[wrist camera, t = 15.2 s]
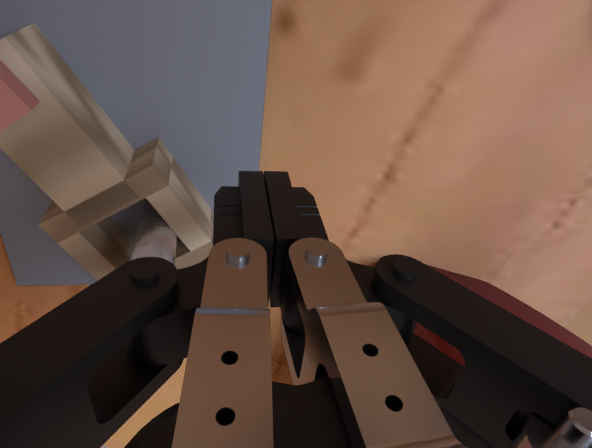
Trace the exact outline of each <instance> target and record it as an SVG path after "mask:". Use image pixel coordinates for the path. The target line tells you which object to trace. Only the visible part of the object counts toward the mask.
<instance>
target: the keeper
mask: <svg viewBox="0 0 592 448" xmlns="http://www.w3.org/2000/svg"><path fill="white" fill-rule="evenodd" d="M39 103H40V101H39V99H38V98H37V97H36V96H35V95H34V94H33V93H32V92H31V91H30V90H29V89H28V88H27V87H26V86H25V85H24V84H23V83H22V82H21V81H20V80H19V79H18V77H17V76H16V75H15V74H14V73H13V72H12V71H11V70H10V69H9V68H8V67H7V66H6V65H5V64H4V63H3V62H2V61H1V60H0V131H1V130H2V129H4V128H6V127H7V126H9V125H10V124H12V123H13V122H15V121H16V120H18V119H19V118H21V117H22V116H24V115H25V114H27V113H28V112H30V111H31V110H32V109H33V108H34V107H36V106H37V105H38V104H39Z"/></svg>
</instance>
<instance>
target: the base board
mask: <svg viewBox="0 0 592 448" xmlns="http://www.w3.org/2000/svg"><path fill="white" fill-rule="evenodd" d="M271 6H272V0H0V40H1V39H2V38H4V37H6V36H8V35H10V34H12V33H14V32H16V31H18V30H20V29H22V28H24V27H26V26H28V25H31V24H33V23H35V24H36V25H37V26H38V28H39V29H40V30H41V31H42V33H43V34H44V35H45V37H46V38H47V39H48V40H49V42H50V43H51V44H52V45H53V47H54V48H55V49H56V51H57V52H58V53H59V54H60V56H61V57H62V58H63V60H64V61H65V62H66V63H67V65H68V66H69V67H70V68H71V70H72V71H73V72H74V74H75V75H76V76H77V77H78V79H79V80H80V81H81V82H82V84H83V85H84V86H85V88H86V89H87V90H88V91H89V93H90V94H91V95H92V97H93V98H94V99H95V100H96V102H97V103H98V104H99V105H100V107H101V108H102V109H103V111H104V112H105V113H106V114H107V116H108V117H109V118H110V119H111V121H112V122H113V123H114V125H115V126H116V127H117V128H118V130H119V131H120V132H121V134H122V135H123V136H124V137H125V139H126V140H127V141H128V142H129V144H130V145H131V146H132V148H133V149H134V150H136V149H138V148H139V147H141V146H143V145H145V144H147V143H149V142H151V141H153V140H154V139H156V138H158V137H159V138H160V139H161V141H162V142H163V143H164V145H165V146H166V147H167V149H168V150H169V152H170V153H171V154H172V156H173V157H174V158H175V160H176V161H177V163H178V164H179V165H180V167H181V168H182V169H183V171H184V172H185V174H186V175H187V176H188V178H189V179H190V180H191V182H192V183H193V185H194V186H195V187H196V189H197V190H198V191H199V193H200V194H201V196H202V197H203V198H204V200H205V201H206V202H207V204H208V205H209V207H210V208H211V209H212V211H213V212H214V195H215V193H216V192H217V191H218V190H219V189H220V187H221V186H238V174H239V171H259V162H260V149H261V136H262V123H263V110H264V97H265V84H266V71H267V58H268V45H269V32H270V19H271ZM145 199H146V198H144V199H142V200H140V201H138V202H136V203H134V204H132V205H131V206H129V207H127V208H125V209H123V210H121V211H119V212H117V213H115V214H113V215H111V217H112V218H113V219H114V220H115V221H116V223H117V224H118V225H119V226H120V227H121V228H122V229H123V230H124V231H125V232H126V233H127V234H128V236H129V237H130V238H131V239H132V240H133V241H134V242H135V239H136V235H137V231H138V226H139V222H140V218H141V214H142V209H143V205H144V201H145ZM51 202H52V199H51V198H50V197H49V196H48V195H47V194H46V193H45V192H44V191H43V190H42V189H41V188H40V187H39V186H38V185H37V184H36V183H35V182H34V181H33V180H32V179H31V178H30V177H29V176H28V175H27V174H26V173H25V172H24V171H23V170H22V169H21V168H20V167H19V166H18V165H17V164H16V163H15V162H14V161H13V160H12V159H11V158H10V157H9V156H8V155H7V154H6V153H5V152H4V151H3V150H2V149H1V148H0V234H1V237H2V240H3V243H4V246H5V249H6V252H7V255H8V258H9V261H10V265H11V268H12V271H13V274H14V277H15V280H16V283H17V286H41V285H79V284H93V283H95V282H96V281H98V280H96V279H95V278H94V277H93V276H92V275H91V274H90V273H89V272H88V271H87V270H86V269H85V268H83V267H82V266H81V265H80V264H79V263H78V262H77V261H76V260H75V259H74V258H73V257H72V256H70V255H69V254H68V253H67V252H66V251H65V250H64V249H63V248H62V247H61V246H60V245H58V244H57V243H56V242H55V241H54V240H53V239H52V238H51V237H50V236H49V235H48V234H47V233H45V232H44V231H43V230H42V229H41V228H40V227H39V226H38V224H39V222H40V221H41V219H42V217H43V216H44V214H45V212H46V211H47V209H48V207H49V205H50V204H51Z"/></svg>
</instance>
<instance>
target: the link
mask: <svg viewBox="0 0 592 448" xmlns="http://www.w3.org/2000/svg"><path fill="white" fill-rule="evenodd" d="M0 60H1V61H2V62H3V63H4V64H5V65H6V66H7V67H8V68H9V69H10V70H11V71H12V72H13V73H14V74H15V75H16V76H17V77H18V79H19V80H20V81H21V82H22V83H23V84H24V85H25V86H26V87H27V88H28V89H29V90H30V91H31V92H32V93H33V94H34V95H35V96H36V97H37V98H38V99H39V101H40V103H39V104H38V105H37V106H36V107H34V108H33V109H32V110H31V111H30V112H28V113H27V114H25V115H24V116H22V117H21V118H19V119H18V120H16V121H15V122H13V123H12V124H10V125H9V126H7V127H6V128H4V129H2V130H1V131H0V148H1V149H2V150H3V151H4V152H5V153H6V154H7V155H8V156H9V157H10V158H11V159H12V160H13V161H14V162H15V163H16V164H17V165H18V166H19V167H20V168H21V169H22V170H23V171H24V172H25V173H26V174H27V175H28V176H29V177H30V178H31V179H32V180H33V181H34V182H35V183H36V184H37V185H38V186H39V187H40V188H41V189H42V190H43V191H44V192H45V193H46V194H47V195H48V196H49V197H50V198H51V199H52V202H51V204H50V205H49V207H48V209H47V211H46V212H45V214H44V216H43V217H42V219H41V221H40V222H39V224H38V226H39V227H40V228H41V229H42V230H43V231H44V232H45V233H47V234H48V235H49V236H50V237H51V238H52V239H53V240H54V241H55V242H56V243H57V244H58V245H60V246H61V247H62V248H63V249H64V250H65V251H66V252H67V253H68V254H69V255H70V256H72V257H73V258H74V259H75V260H76V261H77V262H78V263H79V264H80V265H81V266H82V267H83V268H85V269H86V270H87V271H88V272H89V273H90V274H91V275H92V276H93V277H94V278H95V279H96V280H100V279H101V278H103V277H104V276H106V275H107V274H109V273H110V272H112V271H113V270H115V269H117V268H118V267H120V266H121V265H123V264H125V263H126V262H128V261H130V260H131V256H132V252H133V247H134V243H135V242H134V241H133V240H132V239H131V238H130V237H129V236H128V234H127V233H126V232H125V231H124V230H123V229H122V228H121V227H120V226H119V225H118V224H117V223H116V221H115V220H114V219H113V218H112V217H111V215H113V214H115V213H117V212H119V211H121V210H123V209H125V208H127V207H129V206H131V205H132V204H134V203H136V202H138V201H140V200H142V199H144V198H147V200H148V201H149V202H150V203H151V204H152V206H153V207H154V208H155V209H156V211H157V212H158V213H159V214H160V215H161V217H162V218H163V219H164V220H165V221H166V223H167V224H168V225H169V226H170V227H171V229H172V230H173V231H174V232H175V233H176V235H177V246H176V256H175V267H176V268H177V269H181V268H186V267H189V266H193V265H195V264H198V263H199V262H201V261H203V260H204V259H206V258H207V257H208V256H209V252H210V250H211V248H212V247H213V222H214V212H213V211H212V209H211V208H210V207H209V205H208V204H207V202H206V201H205V200H204V198H203V197H202V196H201V194H200V193H199V191H198V190H197V189H196V187H195V186H194V185H193V183H192V182H191V180H190V179H189V178H188V176H187V175H186V174H185V172H184V171H183V169H182V168H181V167H180V165H179V164H178V163H177V161H176V160H175V158H174V157H173V156H172V154H171V153H170V152H169V150H168V149H167V147H166V146H165V145H164V143H163V142H162V141H161V139H160V138H159V137H158V138H156V139H154V140H153V141H151V142H149V143H147V144H145V145H143V146H141V147H139V148H138V149H136V150H134V149H133V148H132V146H131V145H130V144H129V142H128V141H127V140H126V139H125V137H124V136H123V135H122V134H121V132H120V131H119V130H118V128H117V127H116V126H115V125H114V123H113V122H112V121H111V119H110V118H109V117H108V116H107V114H106V113H105V112H104V111H103V109H102V108H101V107H100V105H99V104H98V103H97V102H96V100H95V99H94V98H93V97H92V95H91V94H90V93H89V91H88V90H87V89H86V88H85V86H84V85H83V84H82V82H81V81H80V80H79V79H78V77H77V76H76V75H75V74H74V72H73V71H72V70H71V68H70V67H69V66H68V65H67V63H66V62H65V61H64V60H63V58H62V57H61V56H60V54H59V53H58V52H57V51H56V49H55V48H54V47H53V45H52V44H51V43H50V42H49V40H48V39H47V38H46V37H45V35H44V34H43V33H42V31H41V30H40V29H39V28H38V26H37V25H36V24H35V23H33V24H31V25H28V26H26V27H24V28H22V29H20V30H18V31H16V32H14V33H12V34H10V35H8V36H6V37H4V38H2V39H1V40H0Z"/></svg>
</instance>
